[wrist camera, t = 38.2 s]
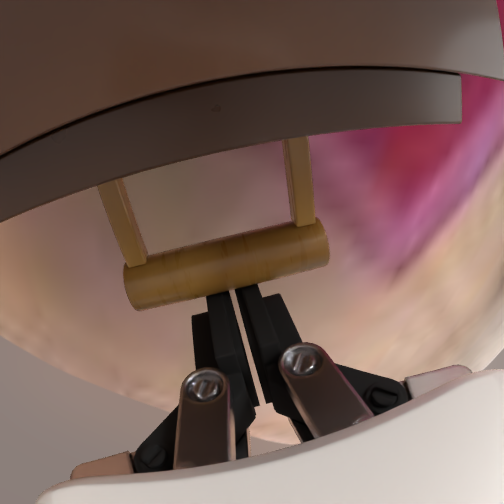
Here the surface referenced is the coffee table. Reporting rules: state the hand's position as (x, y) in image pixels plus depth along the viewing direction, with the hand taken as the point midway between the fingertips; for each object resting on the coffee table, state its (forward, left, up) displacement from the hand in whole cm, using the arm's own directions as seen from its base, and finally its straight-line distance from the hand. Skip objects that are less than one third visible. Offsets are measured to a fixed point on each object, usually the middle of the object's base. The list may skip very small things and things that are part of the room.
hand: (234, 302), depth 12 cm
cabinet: (-11, -11, -5) cm, 16 cm away
